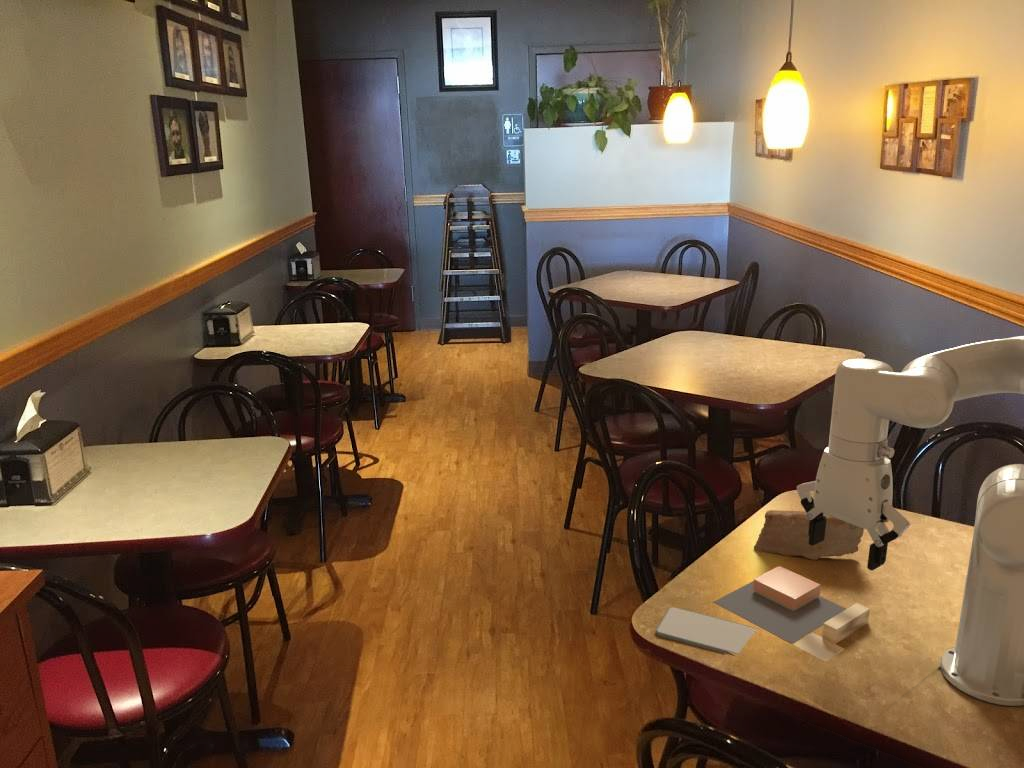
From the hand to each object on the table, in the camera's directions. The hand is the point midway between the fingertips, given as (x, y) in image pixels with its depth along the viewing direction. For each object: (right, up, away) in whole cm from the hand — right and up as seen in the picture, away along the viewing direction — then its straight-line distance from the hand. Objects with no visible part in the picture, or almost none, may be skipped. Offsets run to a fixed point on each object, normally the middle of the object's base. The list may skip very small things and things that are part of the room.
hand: (844, 554), depth 124 cm
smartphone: (-19, -14, +6) cm, 24 cm away
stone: (+4, -7, +28) cm, 29 cm away
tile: (-1, -9, +12) cm, 15 cm away
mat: (-6, -11, +12) cm, 18 cm away
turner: (0, -14, +4) cm, 14 cm away
